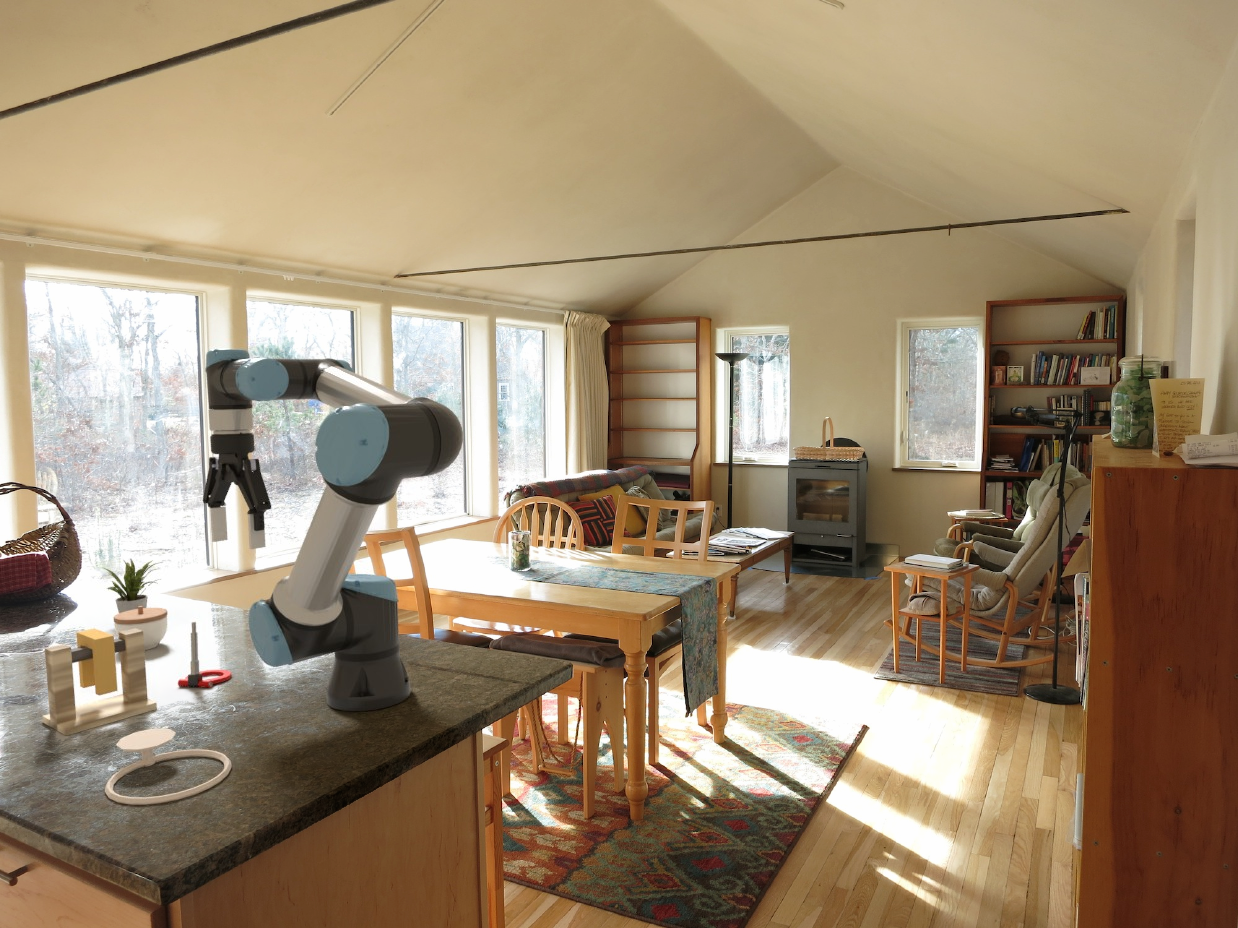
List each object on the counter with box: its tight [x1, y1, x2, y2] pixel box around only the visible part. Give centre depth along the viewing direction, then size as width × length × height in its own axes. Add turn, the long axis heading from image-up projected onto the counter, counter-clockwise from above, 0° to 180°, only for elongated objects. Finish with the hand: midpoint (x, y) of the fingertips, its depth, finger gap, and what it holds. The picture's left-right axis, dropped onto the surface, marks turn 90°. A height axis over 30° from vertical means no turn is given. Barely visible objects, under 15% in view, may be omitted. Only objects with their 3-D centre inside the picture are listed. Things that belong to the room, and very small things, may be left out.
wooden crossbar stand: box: [41, 628, 158, 736], centre depth 156 cm, size 10×15×14 cm, turn 142°
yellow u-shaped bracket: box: [75, 628, 118, 696], centre depth 156 cm, size 8×3×10 cm, turn 52°
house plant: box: [100, 558, 163, 614], centre depth 219 cm, size 14×14×16 cm
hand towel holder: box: [104, 728, 232, 806], centre depth 132 cm, size 17×4×21 cm
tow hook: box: [177, 621, 232, 689], centre depth 175 cm, size 8×13×9 cm
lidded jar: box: [113, 606, 168, 651], centre depth 199 cm, size 11×11×9 cm
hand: (238, 544), depth 166 cm, fingers open, 13 cm apart
